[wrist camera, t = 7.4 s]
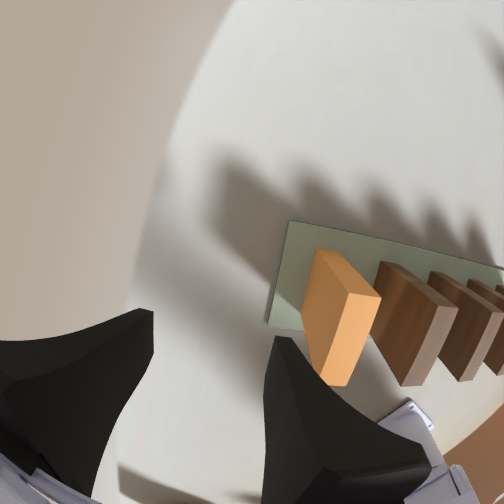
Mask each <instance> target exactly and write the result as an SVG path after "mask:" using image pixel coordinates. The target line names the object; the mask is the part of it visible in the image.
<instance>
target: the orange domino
mask: <svg viewBox="0 0 504 504" xmlns="http://www.w3.org/2000/svg"><path fill="white" fill-rule="evenodd" d="M381 299H382V298H381V296H380V295H379V294H378V293H377V292H376V291H375V290H374V289H373V288H372V287H371V286H370V285H369V284H368V282H367V281H366V280H365V279H364V278H363V277H362V276H361V275H360V274H359V273H358V272H357V271H356V270H355V269H354V268H353V267H352V266H351V265H350V264H349V263H348V262H347V261H346V260H345V259H344V257H343V256H342V255H341V254H340V253H339V252H336V251H331V250H325V249H320V248H316V251H315V255H314V260H313V264H312V268H311V272H310V276H309V280H308V284H307V288H306V292H305V296H304V300H303V304H302V307H301V311H300V315H301V319H302V323H303V327H304V332H305V336H306V340H307V345H308V349H309V353H310V358H311V362H312V367H313V369H314V370H315V371H316V372H317V374H318V375H319V376H320V377H321V378H322V379H323V380H324V381H325V383H326V384H327V385H330V386H346V385H347V383H348V381H349V379H350V376H351V374H352V372H353V370H354V368H355V365H356V363H357V361H358V359H359V356H360V354H361V352H362V349H363V347H364V344H365V342H366V339H367V337H368V334H369V332H370V329H371V327H372V324H373V321H374V319H375V316H376V313H377V310H378V307H379V304H380V302H381Z"/></svg>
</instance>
